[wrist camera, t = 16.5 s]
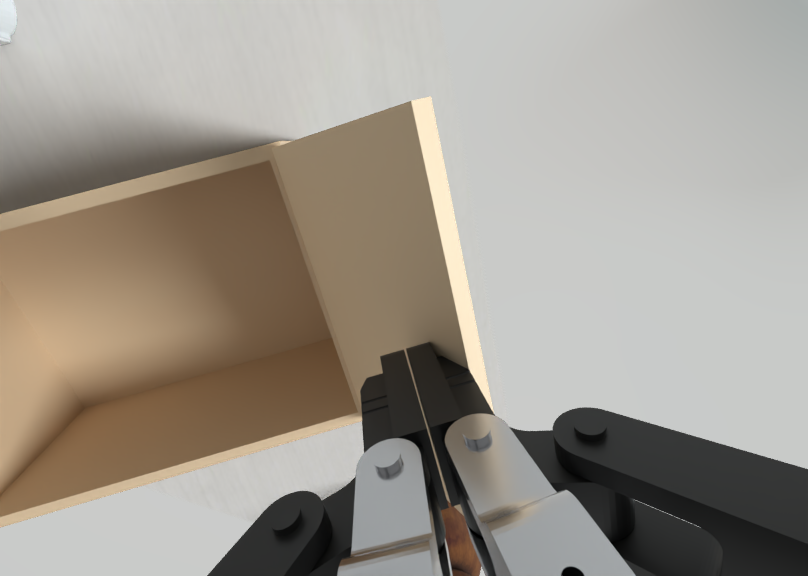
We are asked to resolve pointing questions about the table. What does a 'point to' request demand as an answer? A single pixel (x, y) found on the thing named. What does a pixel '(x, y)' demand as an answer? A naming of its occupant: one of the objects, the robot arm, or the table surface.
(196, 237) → the carton
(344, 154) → the flap
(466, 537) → the wooden figurine
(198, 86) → the table surface
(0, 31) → the photo printer
